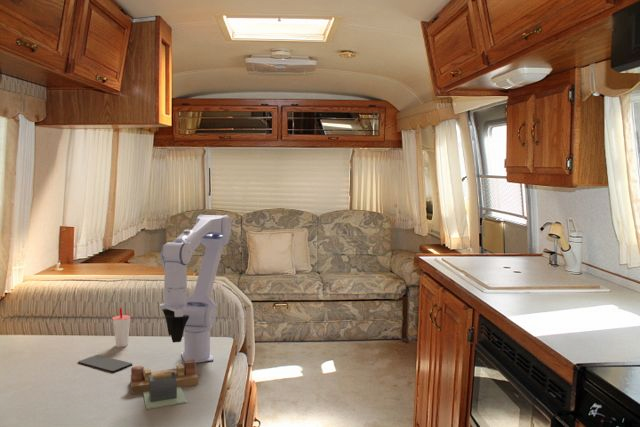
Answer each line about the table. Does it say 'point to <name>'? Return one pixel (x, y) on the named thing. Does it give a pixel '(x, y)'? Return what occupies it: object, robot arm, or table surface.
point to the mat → (178, 400)
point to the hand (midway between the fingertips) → (174, 338)
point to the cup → (121, 329)
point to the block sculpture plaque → (183, 374)
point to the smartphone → (105, 363)
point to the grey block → (162, 386)
